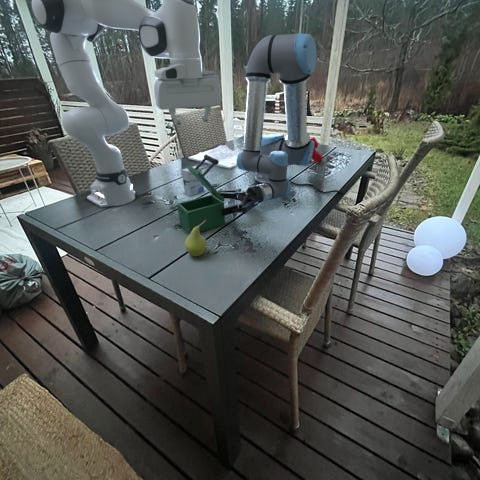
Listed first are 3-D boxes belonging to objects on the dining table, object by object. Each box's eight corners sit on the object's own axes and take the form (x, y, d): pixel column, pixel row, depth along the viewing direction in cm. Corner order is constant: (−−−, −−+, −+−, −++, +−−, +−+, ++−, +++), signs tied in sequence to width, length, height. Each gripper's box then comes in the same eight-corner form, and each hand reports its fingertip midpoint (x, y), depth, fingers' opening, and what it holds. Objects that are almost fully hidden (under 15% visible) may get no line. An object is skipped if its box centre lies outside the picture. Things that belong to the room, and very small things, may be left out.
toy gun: (326, 157, 168) (314, 136, 164) (326, 159, 164) (313, 137, 160) (301, 172, 178) (289, 153, 174) (300, 174, 174) (287, 154, 170)
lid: (197, 174, 89) (214, 155, 89) (185, 166, 96) (202, 149, 96) (223, 202, 100) (238, 184, 100) (211, 193, 107) (225, 177, 107)
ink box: (198, 188, 136) (196, 165, 129) (204, 191, 133) (202, 167, 126) (184, 193, 131) (181, 169, 124) (190, 196, 128) (187, 171, 121)
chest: (190, 235, 98) (187, 212, 94) (180, 224, 105) (176, 203, 100) (225, 223, 105) (224, 202, 100) (213, 214, 112) (212, 194, 107)
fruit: (184, 250, 90) (179, 218, 83) (206, 245, 92) (203, 214, 86) (188, 261, 85) (184, 228, 78) (211, 256, 87) (209, 223, 80)
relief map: (229, 168, 161) (229, 160, 158) (188, 158, 179) (187, 150, 176) (255, 158, 179) (255, 150, 177) (215, 150, 197) (215, 142, 194)
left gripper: (213, 70, 84) (216, 118, 92) (148, 71, 75) (157, 125, 83) (223, 70, 80) (225, 121, 87) (155, 72, 71) (164, 128, 78)
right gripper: (242, 176, 120) (198, 186, 111) (278, 195, 103) (229, 209, 93) (242, 192, 125) (200, 203, 115) (276, 213, 107) (230, 228, 97)
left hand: (191, 123), depth 85 cm, fingers open, 8 cm apart
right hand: (213, 205), depth 104 cm, fingers open, 13 cm apart
